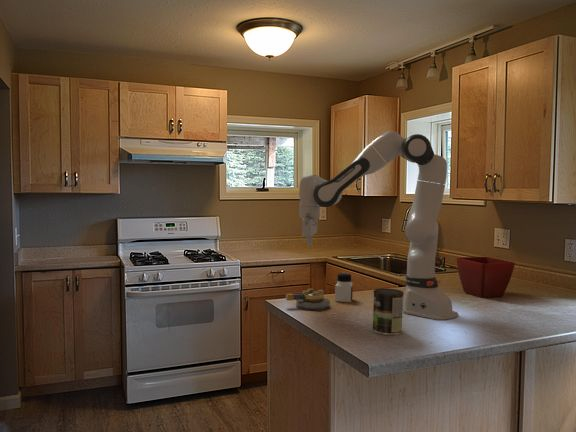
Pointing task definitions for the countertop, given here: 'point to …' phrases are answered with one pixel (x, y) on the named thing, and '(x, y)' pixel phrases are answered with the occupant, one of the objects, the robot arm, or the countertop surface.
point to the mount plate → (313, 304)
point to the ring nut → (307, 296)
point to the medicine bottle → (343, 288)
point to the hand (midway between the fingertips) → (309, 245)
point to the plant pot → (484, 275)
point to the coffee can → (387, 311)
